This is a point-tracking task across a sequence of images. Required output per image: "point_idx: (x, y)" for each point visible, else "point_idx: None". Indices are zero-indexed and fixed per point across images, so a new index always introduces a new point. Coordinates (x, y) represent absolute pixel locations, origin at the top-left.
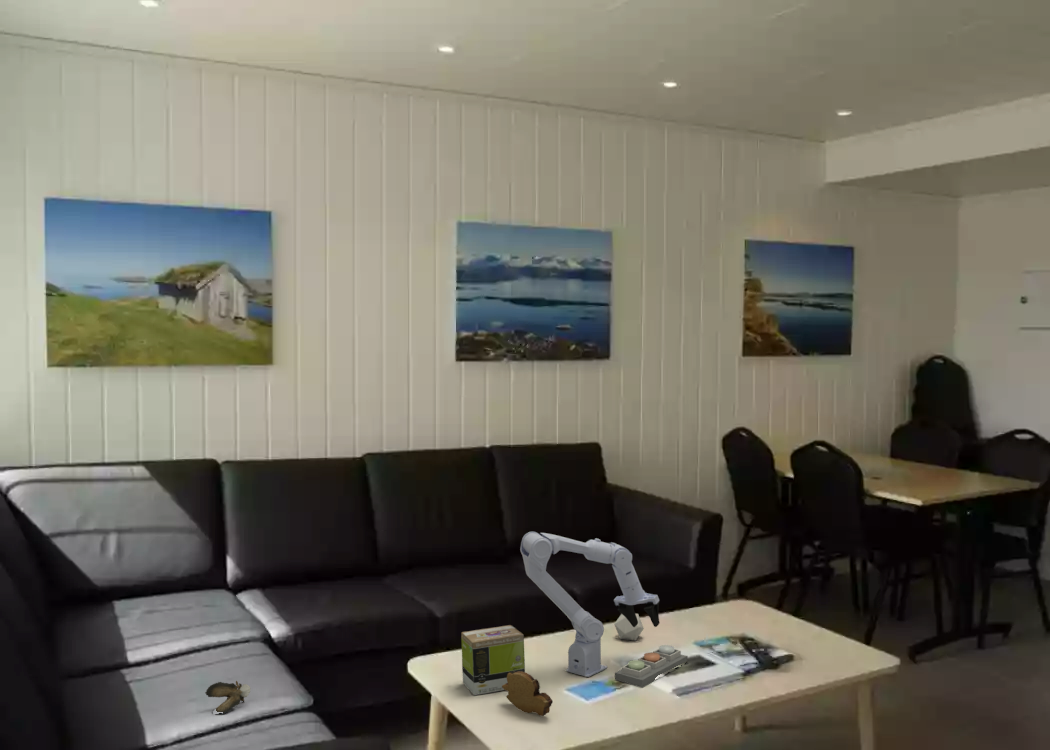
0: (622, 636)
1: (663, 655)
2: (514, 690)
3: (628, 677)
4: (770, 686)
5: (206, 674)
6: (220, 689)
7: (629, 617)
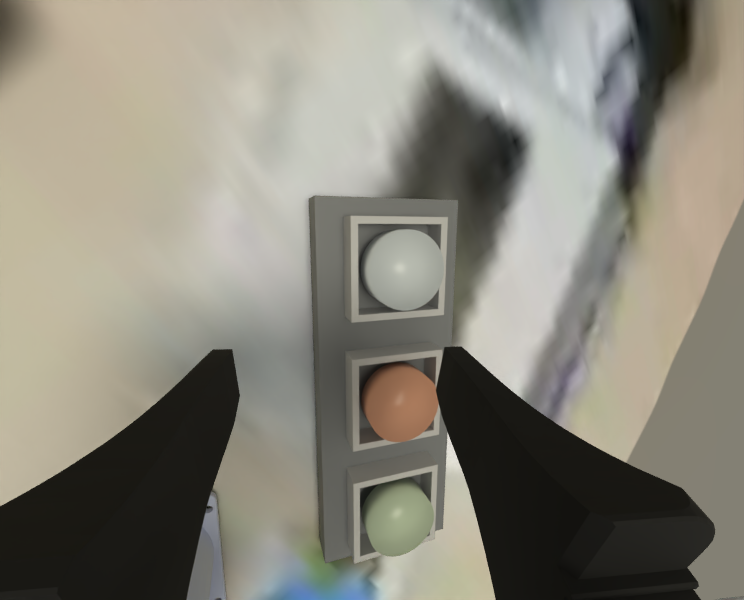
0: None
1: (408, 317)
2: None
3: None
4: (695, 232)
5: None
6: None
7: (206, 501)
